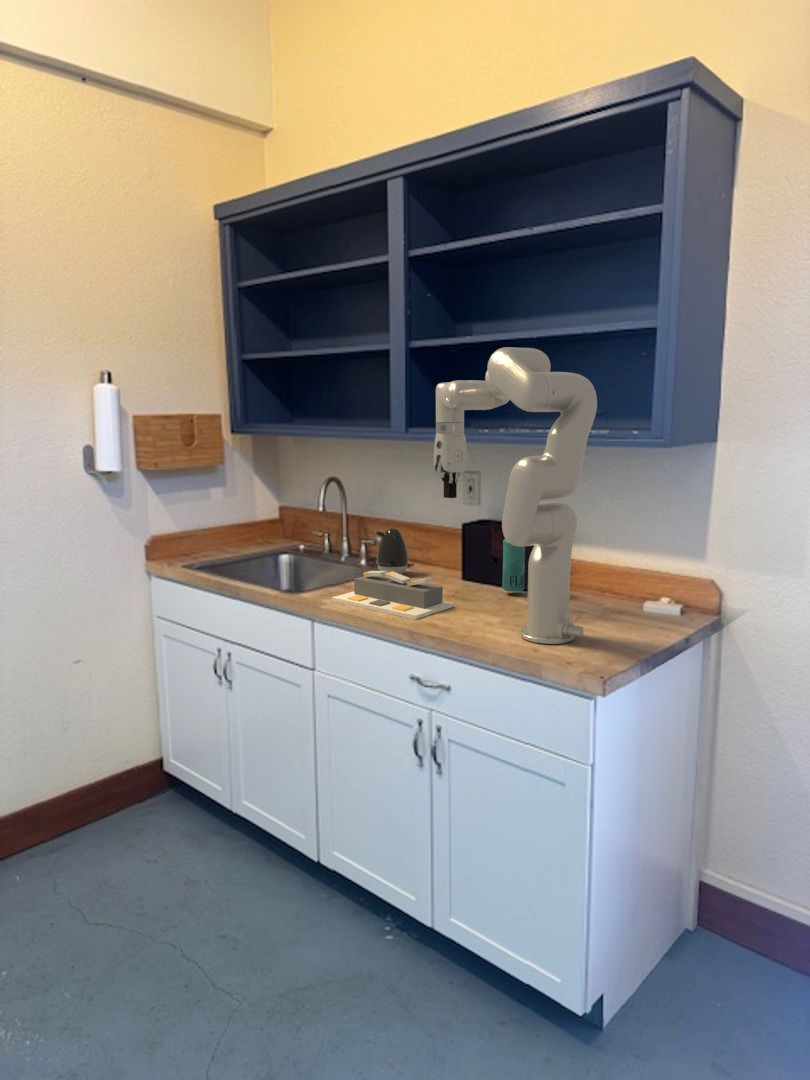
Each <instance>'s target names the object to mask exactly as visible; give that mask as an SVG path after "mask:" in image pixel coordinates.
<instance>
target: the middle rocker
mask: <svg viewBox="0 0 810 1080" xmlns="http://www.w3.org/2000/svg"><path fill="white" fill-rule="evenodd" d="M384 576H385V577H386V578H389V579H392V580H394V581H396V582H399V583H401V584H403V583H407V582H410V581H411V578H410V577H408V576H406V575H403V574H398V573H396V572H394V571H392V572H388V573H385V575H384Z"/></svg>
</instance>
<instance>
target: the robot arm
mask: <svg viewBox="0 0 810 1080" xmlns="http://www.w3.org/2000/svg"><path fill="white" fill-rule="evenodd" d="M551 367H552V366H551V361H550V359H549V356H547V354H546V353H545V352H544V351H542V350H540V349H537V348H534V347H531V348H530V347H512V346H511V347H510V346H509V347H508V346H506V347H501V348H498V349H496V350H495V351H494V352H493V353H492V354H491V355H490V357H489V360H488V362H487V370H486V372H485V377H484V379H485V380H477V379H476V380H474V379H472V380H471V379H467V380H463V379H462V380H460V379H459V380H452V381H450V382H449V381H448V382H447V381H446V382H439V383H437V385H436V387H435V438H434V446H433V468H434V469H433V470H434V472H436V473H435V474H436V477H437V478H440V479H441V482H442V484H443V498H444V499H456V498H457V484H458V482H459V478H460V476H462V475H464V472H465V471H467V469H468V466H469V456H468V445H467V437H466V434H465V411H470V410H471V411H472V410H473V411H480V410H481V411H486V410H487V411H488V410H492V409H495V408H498V407H500V406H503V405H506V404H507V403H508V402H509V401H511V402H512V404H513V405H514V406H516V407H517V408H519V409H521V410H523V411H525V412H531V413H551V412H554V413H555V412H559V413H560V416H559V417H558V418H557V419H556V420H555V421H554V423H552V426H551V427H550V429H549V432H548V434H547V437H546V442H545V443H546V445H545V448H544V451H543V454H541V455H530V456H525V457H523V458H521V459H519V460H518V461H517V462H516V463H515V464H514V465H513V468H512V469H511V471H510V474H509V478H508V483H507V488H506V494H505V500H504V507H503V513H502V519H501V528H502V534H503V537H504V539H506V540H507V542H508V543H510V544H511V545H513V546H518V547H524V546H525V547H532V546H533V547H532V550H531V552H530V554H529V559H528V565H527V566H528V570H527V574H528V575H527V605H526V609H527V610H526V626H523V627H522V628H521V629H520V630H519V635H520V637H521V638H522V639H524V640H526V641H528V642H532V643H536V644H542V645H544V644H546V645H555V644H556V645H557V644H558V645H560V644H567V643H570V642H572V641H574V640H575V638H576V637H577V638H583V636H584V626H579V625H575V624H574V618H572V617H570V596H571V595H570V594H571V593H570V591H571V567H572V565H571V564H572V553H573V546H574V545H573V544H574V540H575V536H576V532H577V525H578V520H577V519H578V517H577V515H576V512H575V510H574V509H573V507H572V506H570V504H568V503H566V502H564V501H559V500H551V499H559V498H566V497H570V496H571V495H573V494H574V493H575V492H576V490H577V488H578V486H579V481H580V478H581V473H582V470H583V462H584V458H585V453H586V450H587V449H586V447H587V444H588V438H589V436H590V432H591V429H592V427H593V423H594V421H595V418H596V413H597V409H598V398H597V393H596V390H595V387H594V385H593V383H592V382H591V381H590V380H589V379H588V378H587V377H585V376H583V375H582V374H579V373H575V372H568V371H567V372H566V371H551ZM541 500H543V501H541ZM544 500H545V501H544Z"/></svg>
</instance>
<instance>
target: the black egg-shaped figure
mask: <svg viewBox="0 0 810 1080" xmlns="http://www.w3.org/2000/svg"><path fill="white" fill-rule="evenodd" d="M375 534H376V535H377V536H380V537H381V538H380V541H379V543H378V544H379V545H378V548H377V555H376V565H377V567H378V571H388V572H392V571H394V572H396V573H398V574H401V575H403V574H404V573H405V572H406V570H407V568H408V565H409V555H408V547H407V545H406V542H405V538H404V537H403V534H402V533H401V532H400V530H399V529H398V528H395V527H390V528H387V529H385V531H384V532H382V531H378V530H376V533H375Z"/></svg>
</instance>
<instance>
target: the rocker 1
mask: <svg viewBox="0 0 810 1080" xmlns="http://www.w3.org/2000/svg"><path fill="white" fill-rule="evenodd" d="M385 573H388V571H380V570H368V571H365V572H364V571H363V576H385Z"/></svg>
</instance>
